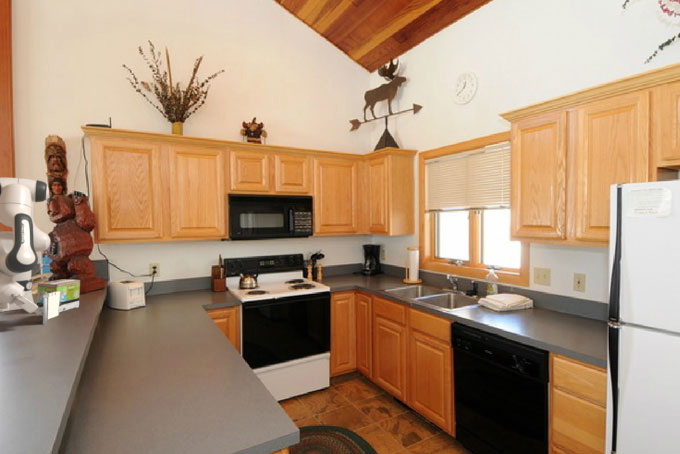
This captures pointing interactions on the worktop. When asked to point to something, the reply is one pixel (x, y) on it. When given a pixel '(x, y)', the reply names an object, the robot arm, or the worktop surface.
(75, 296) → the tea box
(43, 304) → the blue-grey fence panel
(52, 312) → the white fence panel
